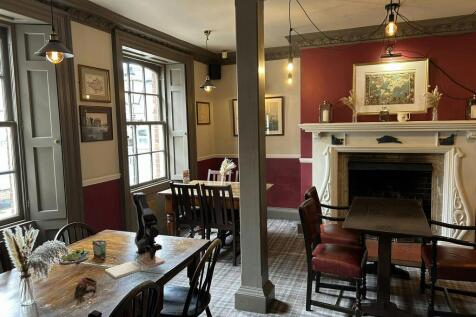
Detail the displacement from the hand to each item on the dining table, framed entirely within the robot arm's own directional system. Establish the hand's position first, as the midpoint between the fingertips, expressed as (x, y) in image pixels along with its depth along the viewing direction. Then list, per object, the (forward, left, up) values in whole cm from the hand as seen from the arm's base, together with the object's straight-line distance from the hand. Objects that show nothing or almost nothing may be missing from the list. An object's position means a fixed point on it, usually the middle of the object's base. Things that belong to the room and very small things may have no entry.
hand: (150, 258), depth 209 cm
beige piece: (0, 0, -2) cm, 2 cm away
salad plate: (-42, -30, -3) cm, 52 cm away
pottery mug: (+12, -43, -3) cm, 45 cm away
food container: (-31, -17, -2) cm, 36 cm away
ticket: (0, -17, -2) cm, 18 cm away
